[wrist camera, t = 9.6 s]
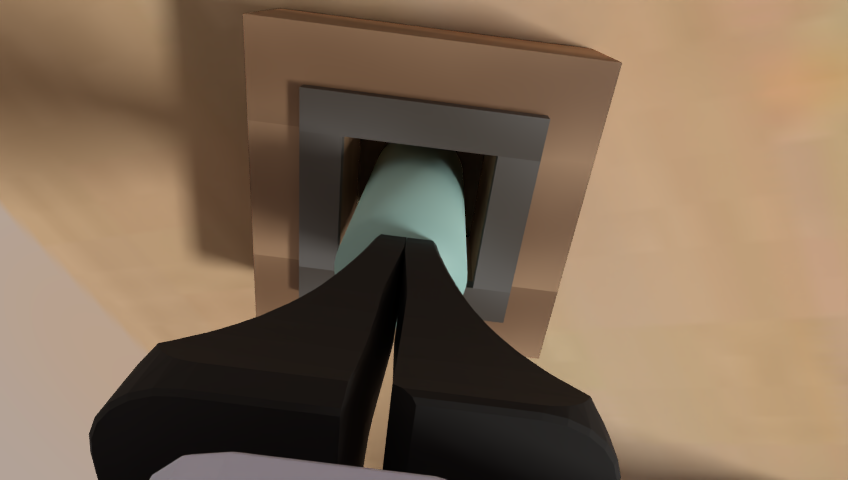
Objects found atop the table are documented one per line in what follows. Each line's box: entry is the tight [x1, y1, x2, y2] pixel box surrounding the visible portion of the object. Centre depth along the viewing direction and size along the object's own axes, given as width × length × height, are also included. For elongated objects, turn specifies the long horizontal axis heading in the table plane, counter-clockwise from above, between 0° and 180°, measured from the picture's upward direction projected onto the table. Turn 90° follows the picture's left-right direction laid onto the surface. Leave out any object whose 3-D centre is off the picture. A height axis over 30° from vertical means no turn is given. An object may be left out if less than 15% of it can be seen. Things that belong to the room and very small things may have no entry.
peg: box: [334, 142, 467, 323], centre depth 15 cm, size 3×3×7 cm
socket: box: [243, 8, 622, 359], centre depth 17 cm, size 10×10×4 cm
